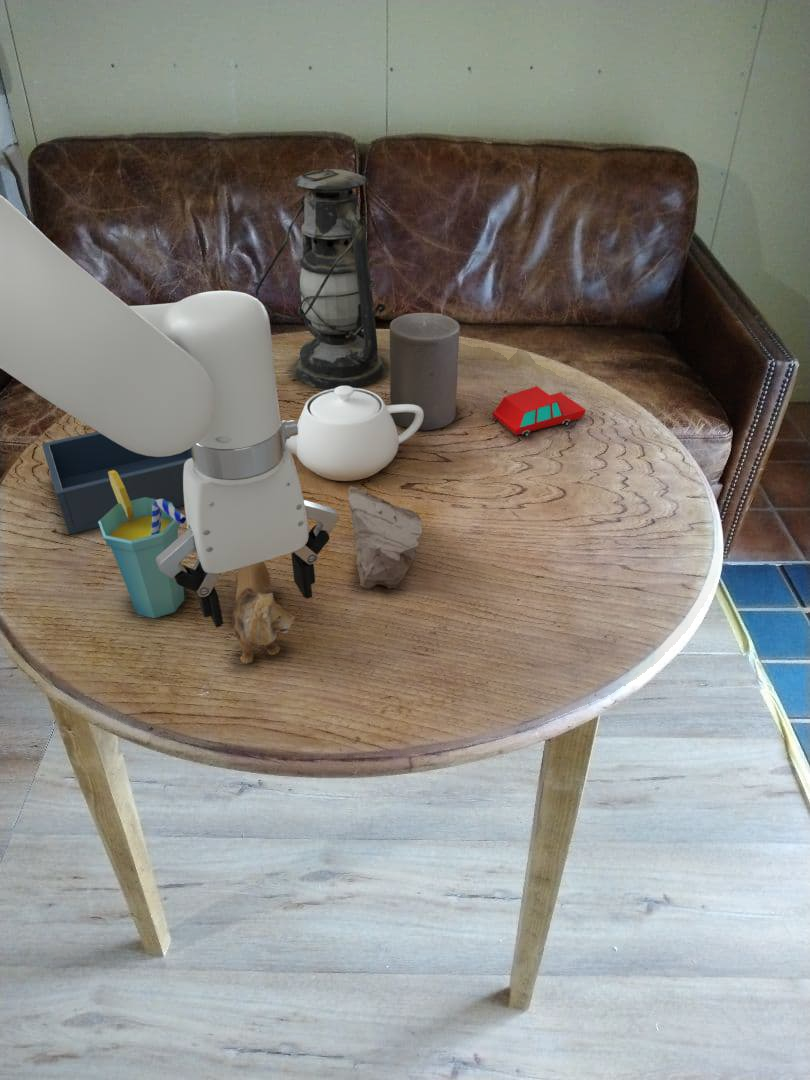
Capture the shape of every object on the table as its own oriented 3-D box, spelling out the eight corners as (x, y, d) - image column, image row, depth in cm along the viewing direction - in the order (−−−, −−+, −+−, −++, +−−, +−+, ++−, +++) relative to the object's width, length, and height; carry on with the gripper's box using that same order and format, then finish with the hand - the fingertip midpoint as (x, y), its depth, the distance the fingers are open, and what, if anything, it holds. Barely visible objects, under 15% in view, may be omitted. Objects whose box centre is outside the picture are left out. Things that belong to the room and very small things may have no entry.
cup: (236, 614, 82) (216, 493, 73) (174, 656, 77) (144, 531, 68) (154, 560, 89) (126, 443, 80) (93, 595, 84) (56, 475, 75)
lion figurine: (303, 676, 75) (295, 605, 69) (246, 691, 73) (234, 619, 68) (269, 582, 86) (260, 514, 80) (219, 593, 84) (207, 525, 79)
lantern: (412, 376, 127) (413, 174, 108) (314, 413, 117) (297, 197, 99) (341, 340, 138) (332, 152, 120) (247, 371, 128) (221, 171, 110)
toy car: (585, 421, 115) (589, 396, 112) (515, 439, 111) (517, 413, 108) (558, 402, 120) (562, 377, 117) (490, 419, 115) (492, 394, 113)
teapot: (412, 430, 113) (413, 359, 106) (434, 481, 102) (436, 406, 95) (255, 445, 109) (246, 373, 103) (261, 500, 98) (251, 423, 92)
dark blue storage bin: (69, 535, 93) (55, 493, 89) (53, 482, 102) (41, 443, 98) (216, 496, 99) (209, 456, 96) (189, 450, 108) (182, 412, 105)
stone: (425, 612, 82) (461, 524, 83) (359, 583, 78) (399, 490, 79) (354, 586, 95) (386, 509, 96) (294, 560, 90) (329, 479, 91)
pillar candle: (381, 425, 114) (378, 324, 105) (402, 395, 121) (402, 299, 112) (446, 435, 111) (449, 333, 102) (464, 405, 119) (468, 307, 110)
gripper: (317, 405, 72) (328, 556, 82) (121, 450, 65) (160, 608, 76) (351, 442, 66) (358, 599, 77) (141, 495, 60) (180, 658, 71)
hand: (260, 603), depth 76 cm, fingers open, 8 cm apart
